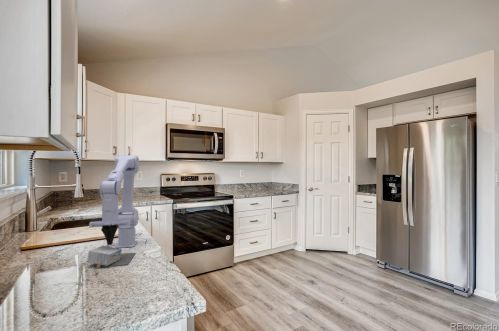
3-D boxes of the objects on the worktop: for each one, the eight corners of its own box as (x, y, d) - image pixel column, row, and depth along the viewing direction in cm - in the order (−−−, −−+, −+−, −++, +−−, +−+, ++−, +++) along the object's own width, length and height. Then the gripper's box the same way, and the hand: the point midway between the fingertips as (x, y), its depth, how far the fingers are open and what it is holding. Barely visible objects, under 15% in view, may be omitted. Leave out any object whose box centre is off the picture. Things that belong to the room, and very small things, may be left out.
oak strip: (108, 256, 106) (108, 253, 106) (111, 256, 107) (111, 253, 107) (96, 268, 93) (96, 265, 93) (99, 268, 93) (99, 265, 93)
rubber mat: (113, 255, 108) (113, 254, 108) (135, 253, 110) (135, 252, 110) (102, 267, 94) (102, 266, 94) (127, 265, 96) (127, 264, 96)
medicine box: (86, 262, 94) (107, 266, 93) (88, 250, 94) (109, 254, 93) (100, 256, 102) (120, 260, 101) (102, 245, 102) (122, 249, 101)
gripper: (86, 212, 95) (85, 248, 95) (127, 211, 98) (127, 245, 98) (93, 209, 102) (92, 243, 102) (131, 208, 105) (131, 240, 105)
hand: (110, 244), depth 100 cm, fingers closed
